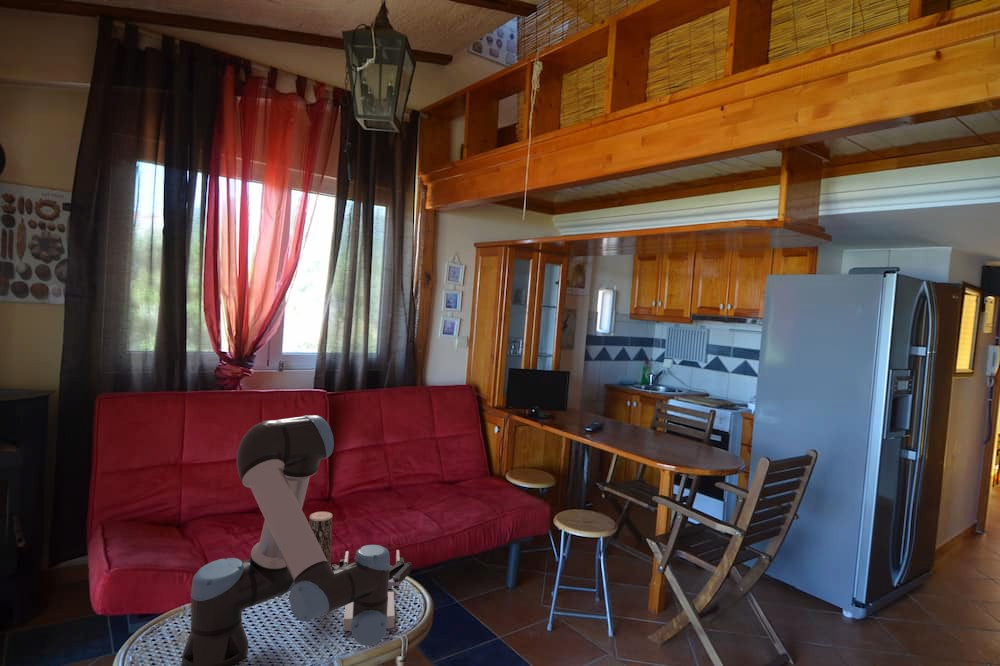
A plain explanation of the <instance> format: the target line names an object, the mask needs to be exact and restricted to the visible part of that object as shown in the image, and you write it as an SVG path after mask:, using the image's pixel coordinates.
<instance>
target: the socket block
mask: <svg viewBox="0 0 1000 666" xmlns="http://www.w3.org/2000/svg"><path fill="white" fill-rule="evenodd" d="M394 592H395V591H388V607H387V621H388V622H387V629H394V628H395V617H396V616H395V615H396V614H395V593H394ZM352 618H353V602H352V603H349V604H347V605H344V615H343V628H342V629H343V632H349V631H351V632H352V629H351V624H352Z"/></svg>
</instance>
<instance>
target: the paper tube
mask: <svg viewBox="0 0 1000 666" xmlns="http://www.w3.org/2000/svg"><path fill="white" fill-rule="evenodd" d="M308 523H309V525H310V527H311V529H312V531H313V533H314V535H315V537H316V539H317V541H318V543H319V545H320V547H321V549H322V551H323V553H324V555H325V557H326V559H327V561H328V563H329V565H330V566H331V567H332V565H331V564H332V563H331V562H332V539H333V538H332V535H333V513H331V512H329V511H316V512H314V513H311V514H310V515H309V521H308Z"/></svg>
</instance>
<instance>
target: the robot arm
mask: <svg viewBox="0 0 1000 666" xmlns="http://www.w3.org/2000/svg"><path fill="white" fill-rule="evenodd" d="M333 434H334V433H333V432H332V428H331V426H330V424H329V423H328V421H326V420H325V418H324V417H322V416H320V415H317V414H316V415H314V414H312V415H305V414H304V415H302V416H298V417H297V416H296V417H295V416H294V417H287V418H281V419H280V418H279V419H275V420H274V419H273V420H272V419H269V420H264V421H261V422H259V423H256V424H255V425H253V426H252V427H251V428H250V429H248V430H247V431H246V433H245V434H244V435H243V437H242V438H241V441H239V442H240V443H239V445H238V447H237V453H236V469H237V473H238V477H239V478H240V480H241V483H242V484H243V486H244V487H245V488H250V491H251V492H252V495H253V497H254V499H255V501H256V503H257V504H258V508H259V510H260V511H261V513H262V516H263V518H264V521H263V526H262V530H261V535H260V538H259V541H258V542H257V543H256V544H254V545H253V547H252V549H251V550H250V555H249V559H246V560H243V561H242V560H241V559H239V558H235V557H228V558H219V559H217V560H213V561H211V562H208V563H207V564H205V565H203V566H202V567H200V568H199V569H198V570H197V571H196V572H195V574H194V576H193V577H192V584H191V590H190V597H191V601H190V604H191V605H190V606H191V609H190V618H191V619H190V631H189V632H190V633H189V635H188V637H187V641H186V642H185V646H184V649H183V652H182V659H181V665H182V666H238V665H239V664H240V663H242V662H243V661H244V660H245V658H246V657H247V656H248V653H249V639H248V636H247V633H246V631H245V628H244V626H243V623H242V617H243V616H242V614H243V611H244V610H246V609H248V608H251V607H253V606H256V605H258V604H262V603H264V602H267V601H269V600H273V599H275V598H279V597H282V596H284V595H285V594H287V593H289V594H288V595H289V596H288V597H289V598H288V601H289V604H290V610H291V611H290V612H291V613H292V615H293V616H294V617H295V618H296V620H298V621H301V622H309V621H312V620H314V619H317V618H322V617H324V616H326V615H327V614H329V613H331V612H334V611H335V610H338V609H339V608H342V607H345V605H347V604H349V603H352V602H353V618H352V624H351V629H352V631H351V635H352V638H353V639H354V641H355V642H356V643H357V644H359V645H361V646H366V647H367V646H368V647H369V646H375V645H376V644H378V643H380V642H381V641H382V640H383V638H384V637H385V636H386V633H387V629H388V628H387V622H388V621H387V607H388V592H389V590H388V585H389V586H392V587H393V588H394V589H395V590H398V589H399V588H400V585H401V584H402V582H403V581H404V580H405V579H406V578H407V577H408V576H409V575H410V574H411V572H412V571H411V570H412V569H411V568H412V562H411V561H410V562H409V561H408V562H405V559H404V557H400V550H399V549H396V553H395V564H394V565H391V558H390V551H389V550H388V548H386V547H385V546H382V545H380V544H379V545H378V544H367V545H363V546H361V547H359V548H358V549H357V550H356V552H355V556H354V562H351V563H349V552H350V551H348V550H346V551H345V555H344V558H343V559H342V558H341V559H339V564H338V565H337V564H336V563H335V564H332V565H331V566H330V565H329V563H328V561H327V559H326V557H325V555H324V553H323V551H322V549H321V547H320V545H319V543H318V541H317V539H316V537H315V535H314V533H313V531H312V529H311V527H310V525H309V521H308V519H307V517H306V515H305V513H304V511H303V507H304V503H305V498H306V494H307V490H308V486H309V481H310V477H312V476H314V475H316V473H318V470H319V467H320V463H321V460H326V459H327V458H329V457H330V456H331V455H332V454H333V450H334V447H335V446H334V445H335V444H334V443H335V441H334V435H333ZM390 565H391V566H392V567H390Z"/></svg>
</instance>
